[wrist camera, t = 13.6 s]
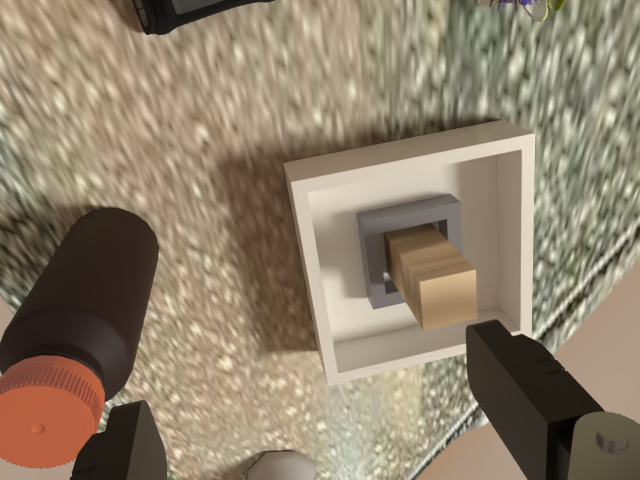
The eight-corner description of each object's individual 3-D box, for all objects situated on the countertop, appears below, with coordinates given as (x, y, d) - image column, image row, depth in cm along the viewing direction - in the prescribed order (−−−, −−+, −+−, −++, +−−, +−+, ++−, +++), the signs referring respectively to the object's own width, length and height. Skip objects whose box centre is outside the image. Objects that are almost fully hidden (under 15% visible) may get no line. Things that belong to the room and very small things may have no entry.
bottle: (168, 218, 42) (131, 379, 24) (149, 293, 44) (103, 491, 26) (76, 196, 40) (-39, 353, 22) (61, 275, 43) (-54, 476, 25)
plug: (382, 231, 45) (419, 281, 37) (429, 221, 45) (475, 269, 37) (387, 273, 46) (423, 330, 38) (432, 263, 47) (477, 318, 39)
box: (283, 162, 42) (290, 182, 38) (502, 119, 44) (535, 133, 39) (318, 350, 50) (327, 385, 45) (503, 307, 51) (531, 337, 47)
